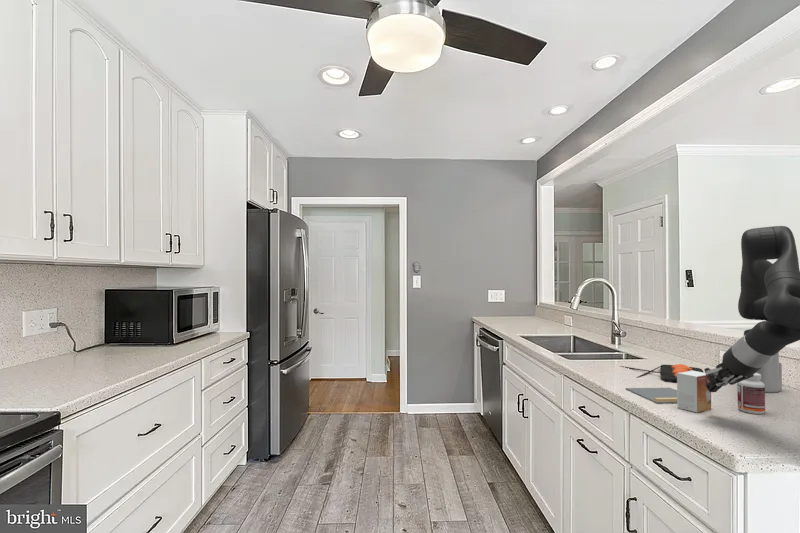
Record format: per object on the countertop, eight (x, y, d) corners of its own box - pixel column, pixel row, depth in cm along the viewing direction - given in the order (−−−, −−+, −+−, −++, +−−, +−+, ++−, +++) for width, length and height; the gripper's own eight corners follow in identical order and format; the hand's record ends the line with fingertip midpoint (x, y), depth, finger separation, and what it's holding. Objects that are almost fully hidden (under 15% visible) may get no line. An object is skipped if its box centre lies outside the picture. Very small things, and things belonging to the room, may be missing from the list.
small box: (697, 413, 119) (696, 376, 119) (676, 407, 124) (676, 372, 124) (712, 409, 123) (711, 373, 123) (691, 404, 128) (691, 369, 128)
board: (669, 388, 145) (669, 384, 145) (706, 402, 129) (706, 398, 129) (625, 389, 144) (625, 385, 144) (657, 403, 128) (657, 399, 128)
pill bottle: (771, 413, 119) (770, 375, 119) (754, 415, 117) (753, 376, 118) (748, 407, 125) (748, 370, 125) (732, 408, 124) (731, 371, 124)
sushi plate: (709, 388, 147) (709, 378, 147) (614, 377, 163) (614, 367, 163) (701, 372, 172) (701, 363, 172) (620, 363, 188) (620, 355, 188)
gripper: (763, 342, 109) (724, 377, 121) (715, 342, 108) (681, 377, 120) (783, 366, 103) (740, 401, 115) (733, 367, 102) (695, 402, 115)
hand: (710, 389), depth 118 cm, fingers closed
